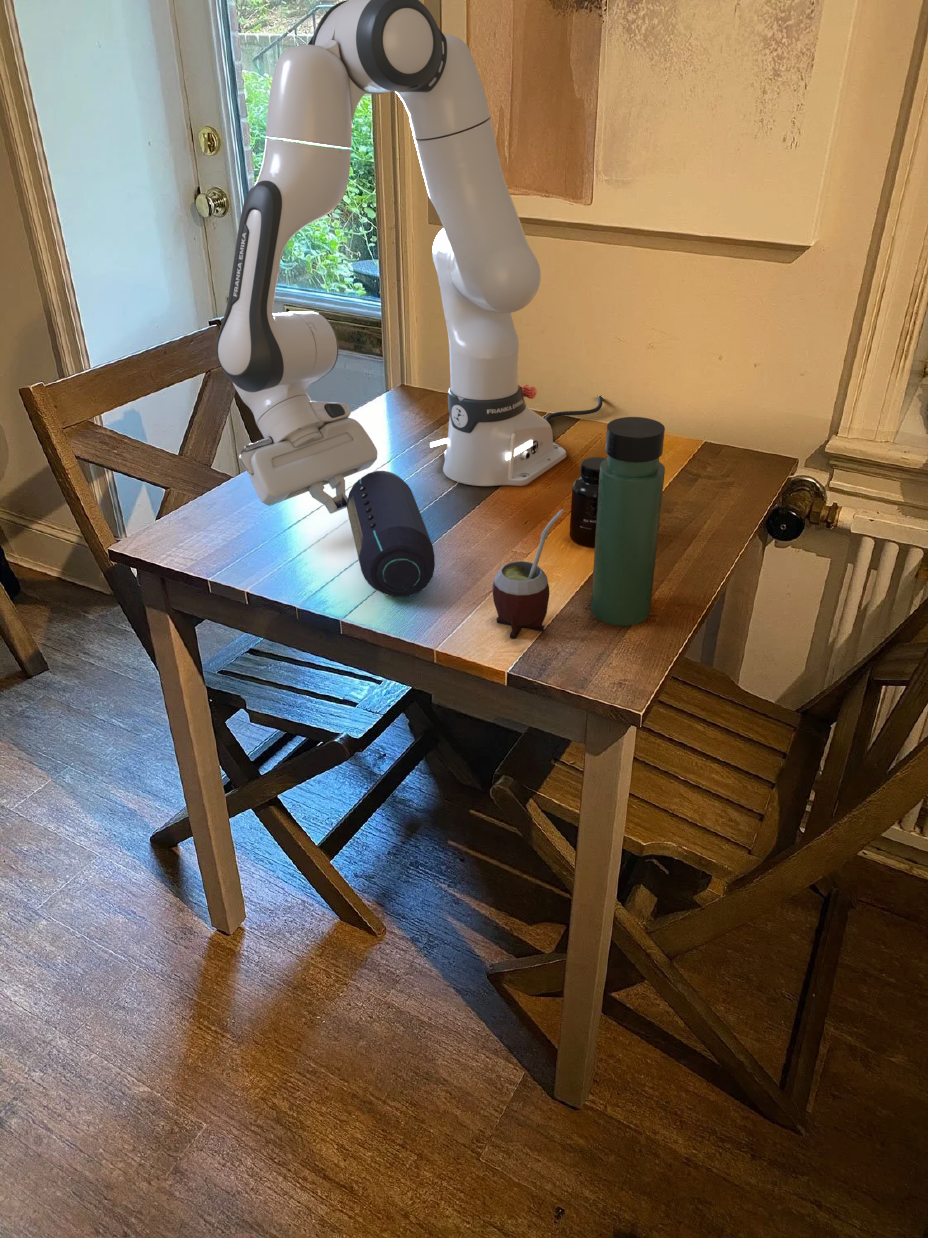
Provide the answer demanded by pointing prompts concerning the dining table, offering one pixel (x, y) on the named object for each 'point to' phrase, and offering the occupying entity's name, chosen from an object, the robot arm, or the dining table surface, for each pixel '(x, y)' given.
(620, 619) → the thermos
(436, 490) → the dining table surface
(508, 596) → the mate gourd
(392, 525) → the portable speaker
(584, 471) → the supplement bottle
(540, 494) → the dining table surface
